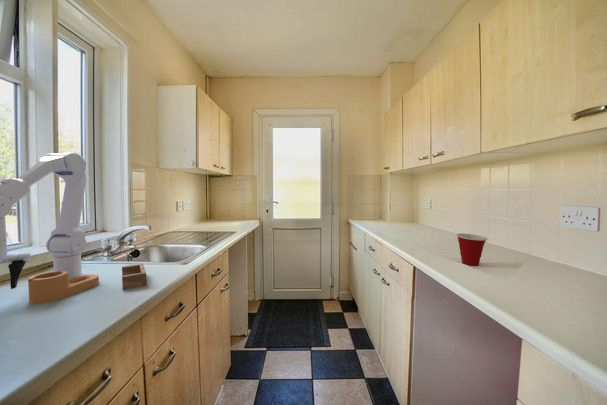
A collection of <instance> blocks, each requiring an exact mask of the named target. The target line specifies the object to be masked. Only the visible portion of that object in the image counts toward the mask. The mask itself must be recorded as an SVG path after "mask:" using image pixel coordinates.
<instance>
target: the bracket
mask: <svg viewBox="0 0 607 405" xmlns="http://www.w3.org/2000/svg"><path fill="white" fill-rule="evenodd" d="M27 281H28V282H27V283H28V284H27V285H28V301H29V304H31V305H37V304H38V305H40V304H41V305H42V304H46V303H52V302H56V301H60V300H62V299H64V298H68V297H70V296H73V295H76V294H78V293H81V292H84V291H86V290H90V289H92V288H94V287H96V286H99V285H100V276H99V274H95V273H94V274H93V273H91V274H90V273H89V274H84V275H81V276H76V277H72V278H69V279H68V272H67V271H62V272H60V271H54V270H53V271H47V272H41V273H38V274H34V275H30V276H29V277H28V278H27Z"/></svg>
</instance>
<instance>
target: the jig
mask: <svg viewBox="0 0 607 405" xmlns="http://www.w3.org/2000/svg"><path fill="white" fill-rule="evenodd" d="M121 273H122V275H121V278H122V279H121V280H122V285H121V286H122V290H129V289H132V288H139V287H144V286H147V283H148V282H147V271H146V269H145V265H144V263H138V264H132V265H131V264H130V265H124V266H121Z"/></svg>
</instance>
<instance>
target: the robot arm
mask: <svg viewBox="0 0 607 405" xmlns="http://www.w3.org/2000/svg"><path fill="white" fill-rule="evenodd" d="M86 167H87V161H86V160H85V159H84V157H82V155H81V154H80V153H79V152H78V153H77V152H75V151H74V152H62V153H61V152H59V153H54V152H49V153H47V154H45V156H42V157H40V158H39V161H38V162H36V163H35V164H34V165H33V166H31V168H29V169H27V170H26V171H25V172H24V173H23V174H22V175H20V176H19V177H17V178H12V177H10V178H6V179H2V180H0V264H8V270H9V271H8V272H9V274H10V289H11V290H13V289H16V288H17V286H18V281H19V277H20V274H21V272H22V270H23V269H24V267H25V265H26V263H27V262H29V261H30V260H31V253H30V252H25V253H10V254H8V242H7V227H6V226H7V225H6V217H7V216H8V215H10V214H11V212H12V207H13V206H14V205H15V204H17V202H19V201H20V200H22V199H23V198H25V197H26V196H27V195H28V194H29V193H30V192H31V186H33V185H34V184H36V183H38V182H39V181H41V180H43V179H44V178H45V177H46V176H48V175H50V174H51V173H53V174H54V175H56V176H58V177H59V178H61V179H62V180H63V181H64V182H65V185H64V191H63V196H62V201H61V210H60V214H59V215H60V216H59V220H58V226H57V227H55V229H53V230H52V231H51V232H50V237H49V238H47V241H46V245H45V247H46V250H47V251H48V252H49V253H51V257H52V263H53V271H60V272H62V271H67V272H68V279H69V278H72V277H76V276H81V275H86V273H85V272H82V257H81V256H82V254H83V252H84V251H85V249H86V247H87V240H86V232H85V231H84V230H83V229H82V228H80V223H81V216H82V211H83V204H84V203H83V202H84V198H85V192H86V186H87V185H86V184H87V175H86Z"/></svg>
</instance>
